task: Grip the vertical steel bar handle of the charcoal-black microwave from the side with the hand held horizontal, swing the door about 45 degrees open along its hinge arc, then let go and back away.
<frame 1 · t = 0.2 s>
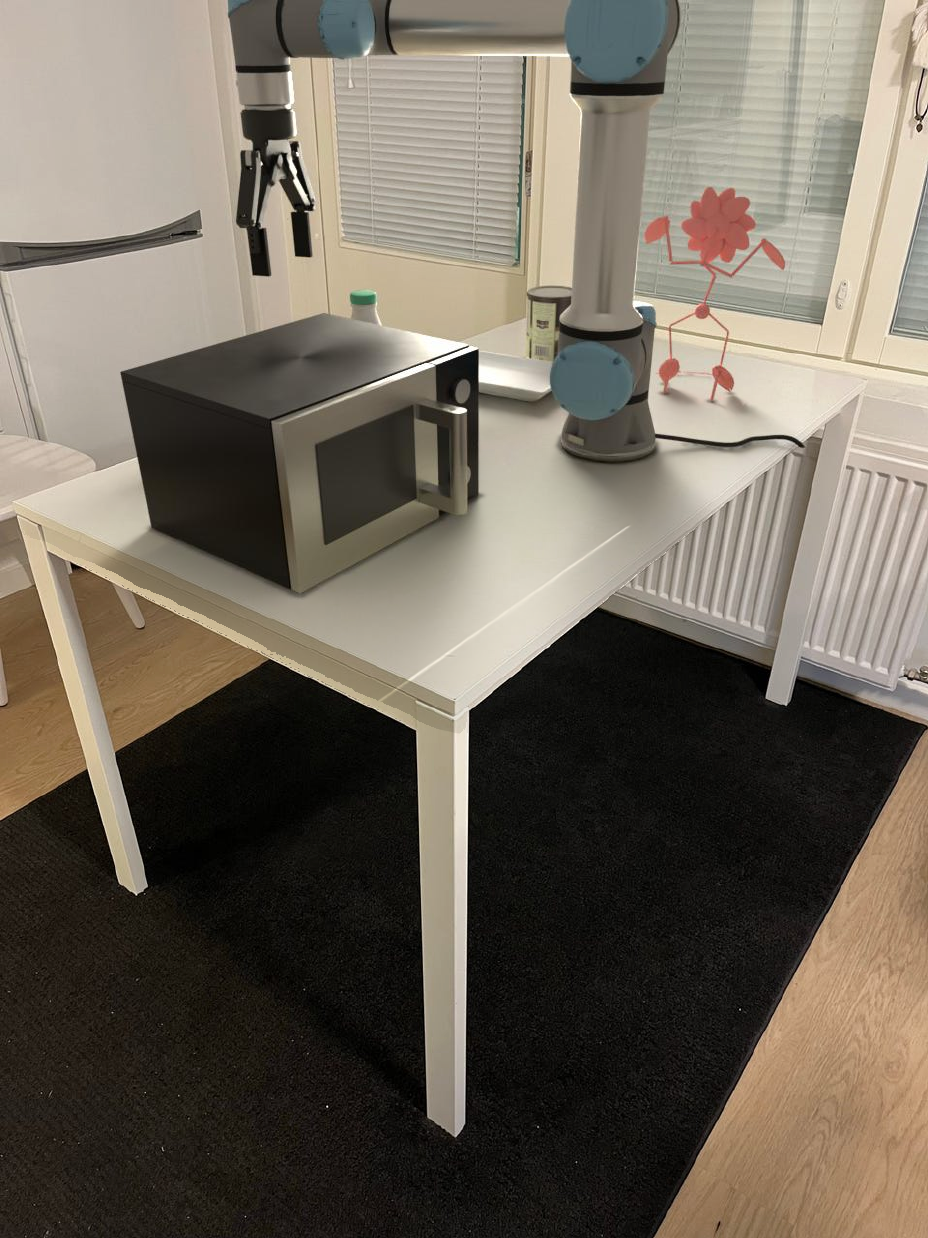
hand: (283, 265, 144), 28 cm above the table, tool pointing down, fingers open, 13 cm apart
microwave door: (386, 482, 118), point 11 cm above the table, hinge at 0.0°
milk bottle: (370, 406, 174), on the table
microwave: (315, 509, 137), on the table
figurine: (699, 388, 181), on the table
coffee can: (549, 362, 195), on the table
tray: (488, 384, 184), on the table
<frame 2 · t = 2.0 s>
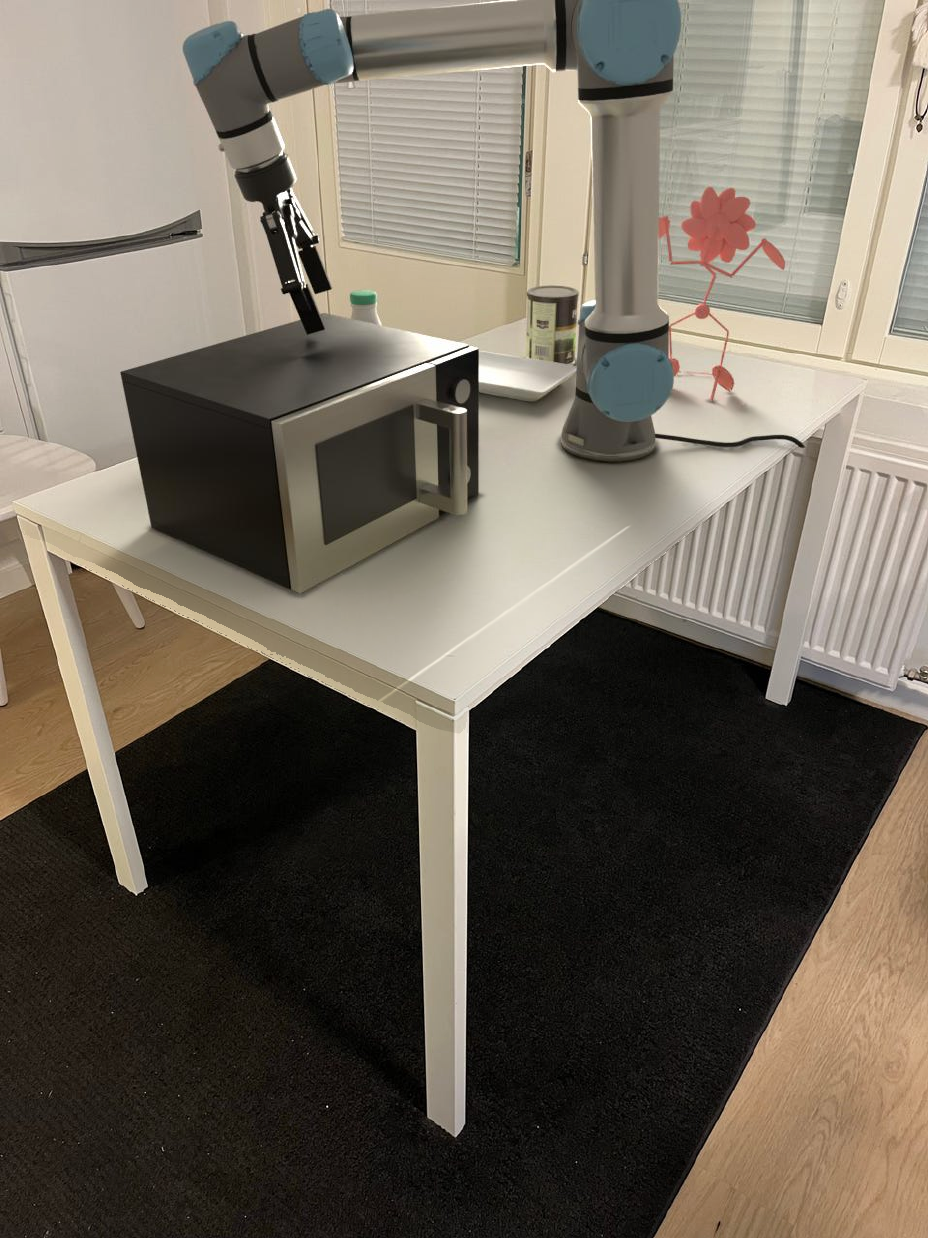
hand: (320, 310, 138), 24 cm above the table, tool tilted 20°, fingers open, 13 cm apart
nothing on the table moved.
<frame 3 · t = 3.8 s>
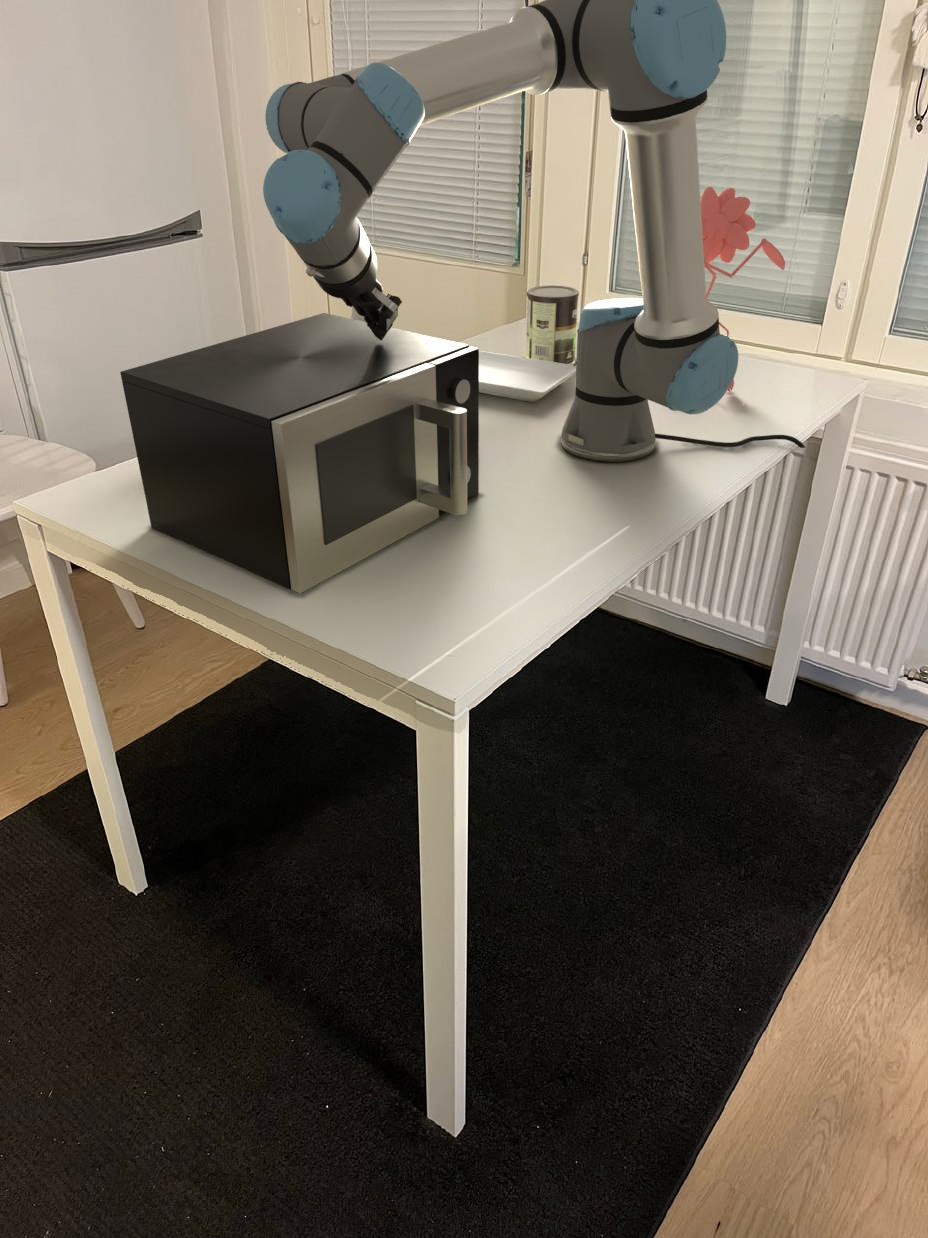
hand: (384, 330, 130), 23 cm above the table, tool tilted 55°, fingers closed
nothing on the table moved.
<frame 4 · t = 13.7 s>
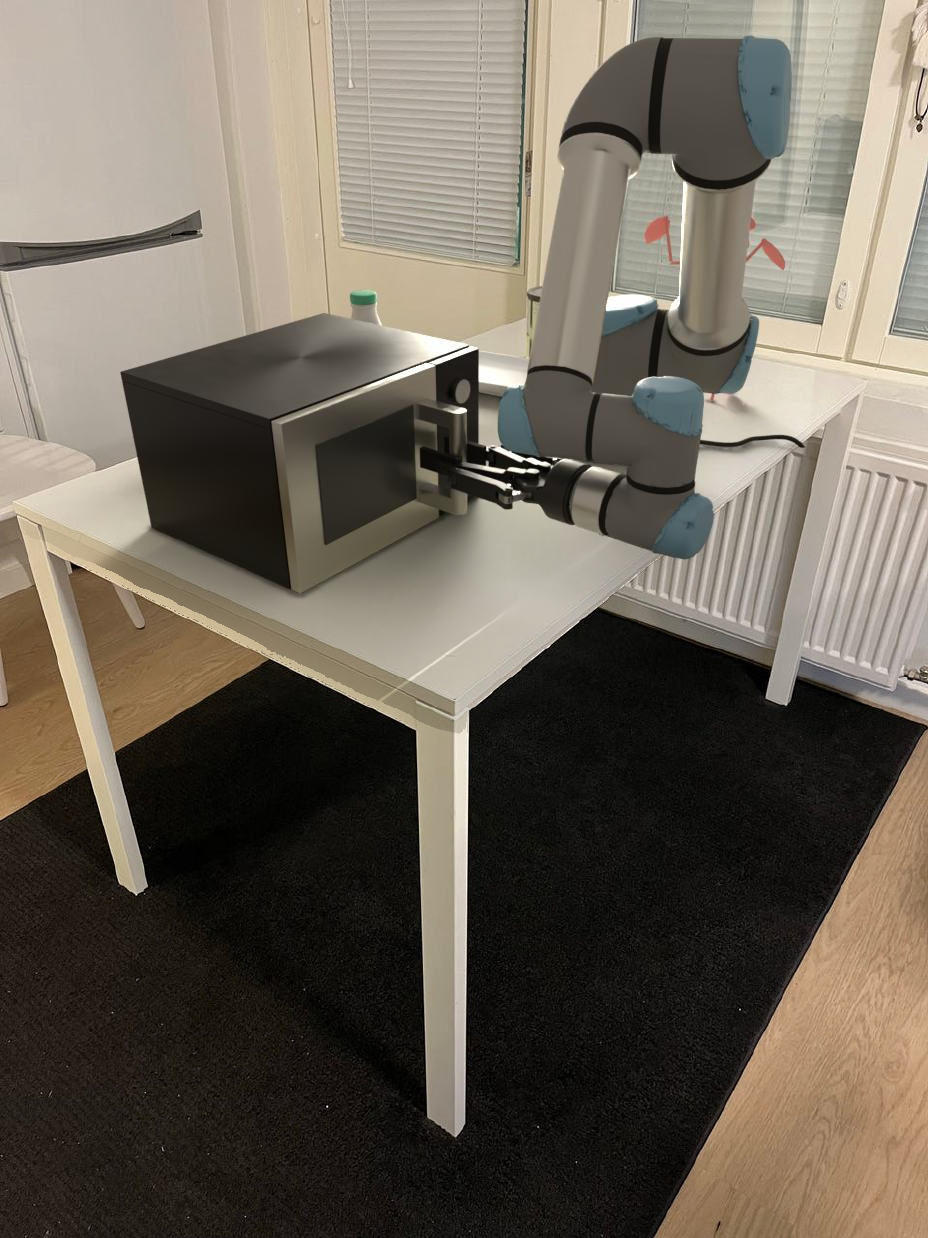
hand: (434, 451, 126), 11 cm above the table, tool horizontal, fingers open, 4 cm apart
microwave door: (385, 482, 118), point 11 cm above the table, hinge at 0.0°, touching gripper
everything else where it was.
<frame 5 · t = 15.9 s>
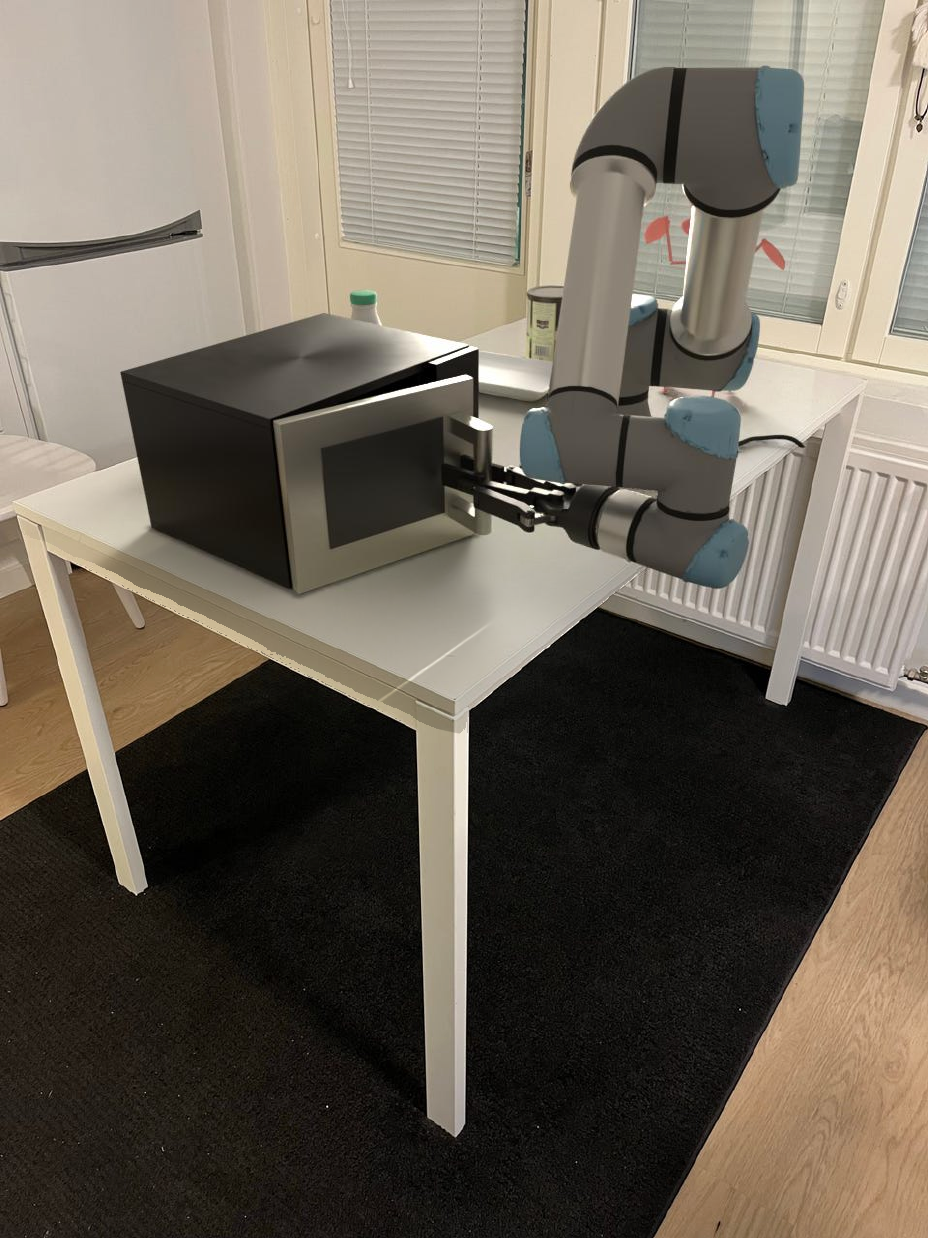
hand: (453, 469, 121), 11 cm above the table, tool horizontal, fingers closed on microwave door, 3 cm apart
microwave door: (398, 492, 115), point 11 cm above the table, hinge at 15.4°, touching gripper
everything else where it was.
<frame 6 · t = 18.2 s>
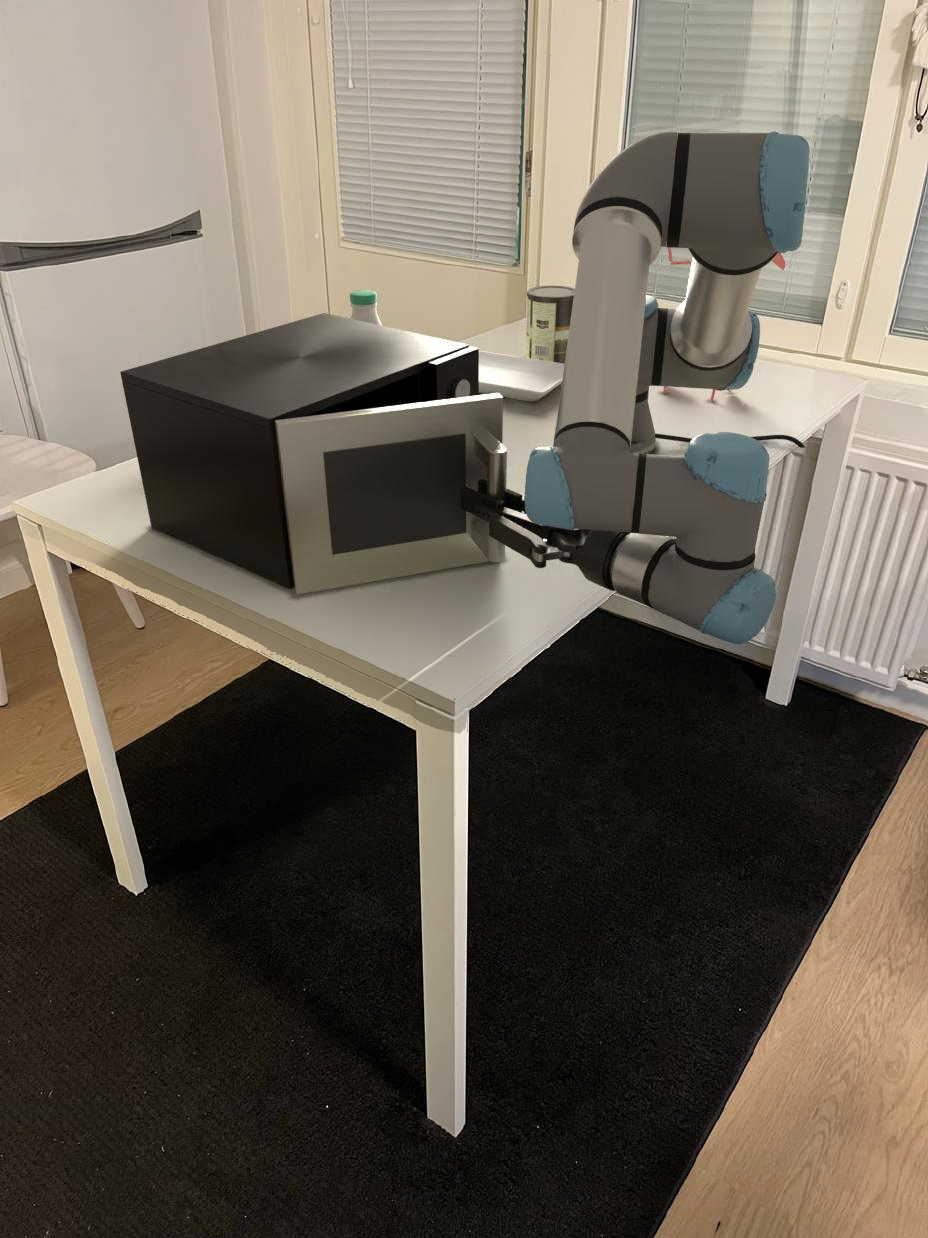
hand: (471, 493, 114), 11 cm above the table, tool horizontal, fingers closed on microwave door, 2 cm apart
microwave door: (404, 507, 112), point 11 cm above the table, hinge at 32.5°, touching gripper
everything else where it was.
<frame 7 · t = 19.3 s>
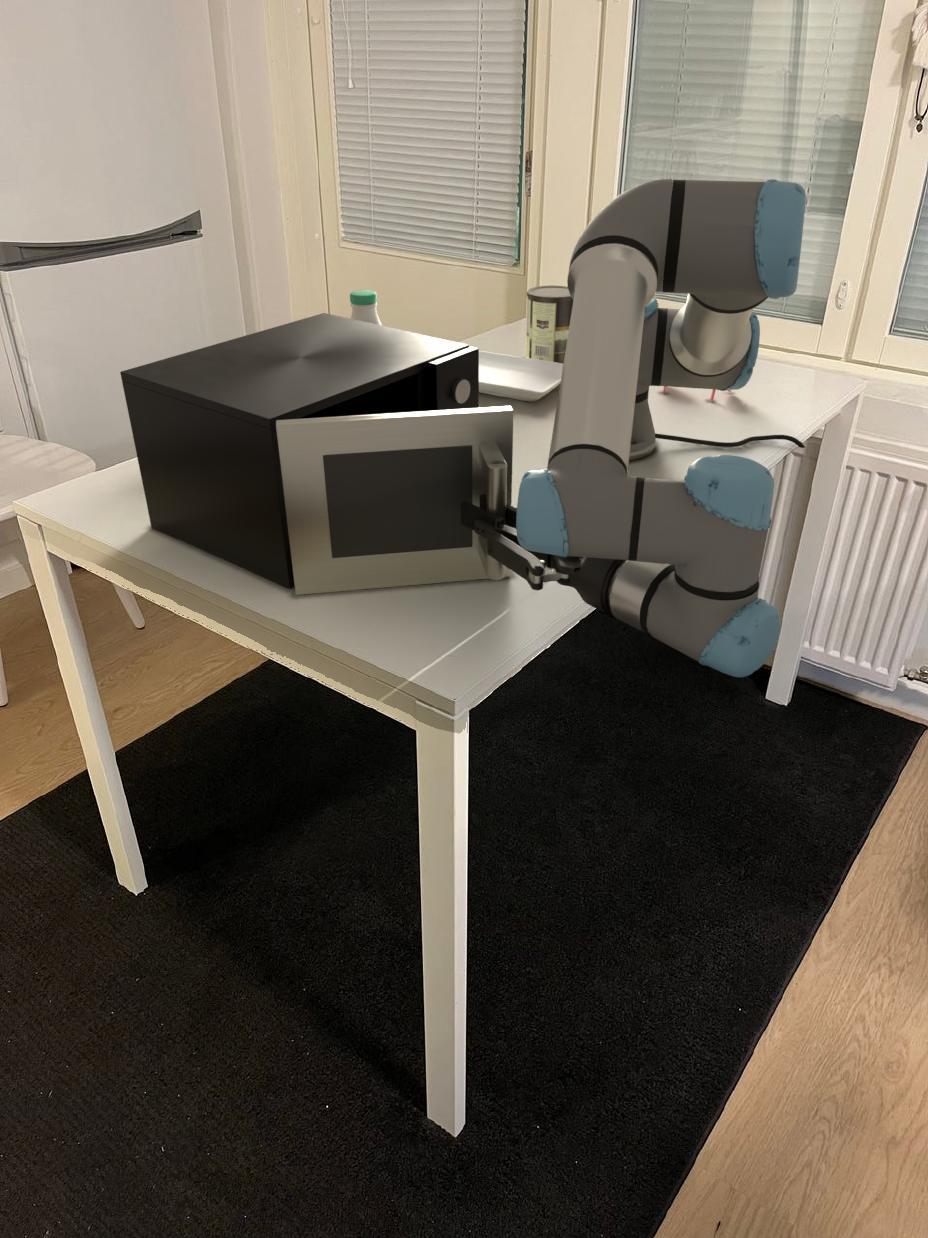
hand: (472, 508, 111), 11 cm above the table, tool horizontal, fingers closed on microwave door, 2 cm apart
microwave door: (403, 516, 110), point 11 cm above the table, hinge at 42.5°, touching gripper
everything else where it was.
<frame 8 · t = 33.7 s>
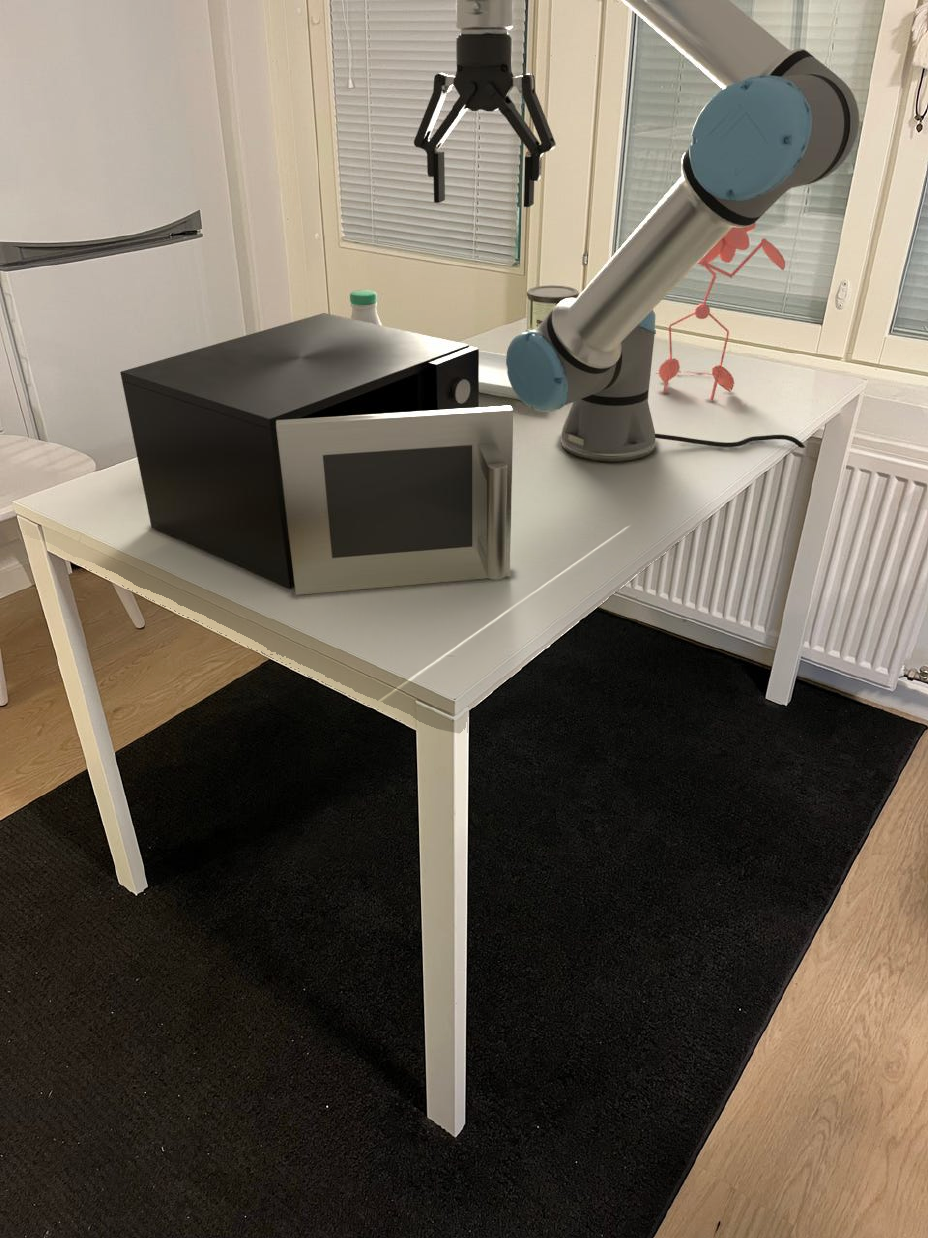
hand: (483, 203, 139), 37 cm above the table, tool pointing down, fingers open, 13 cm apart
microwave door: (403, 516, 110), point 11 cm above the table, hinge at 42.3°
everything else where it was.
at the end: microwave door at +42° (first picture: +0°); the gripper is holding nothing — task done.
